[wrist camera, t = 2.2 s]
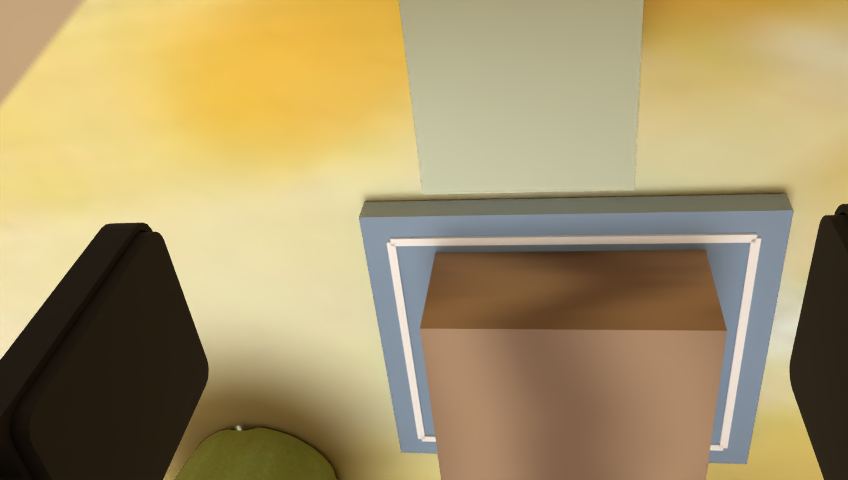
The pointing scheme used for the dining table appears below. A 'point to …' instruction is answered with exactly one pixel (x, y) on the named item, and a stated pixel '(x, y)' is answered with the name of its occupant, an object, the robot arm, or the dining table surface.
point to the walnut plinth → (573, 364)
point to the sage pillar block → (524, 93)
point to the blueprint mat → (583, 231)
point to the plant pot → (255, 458)
